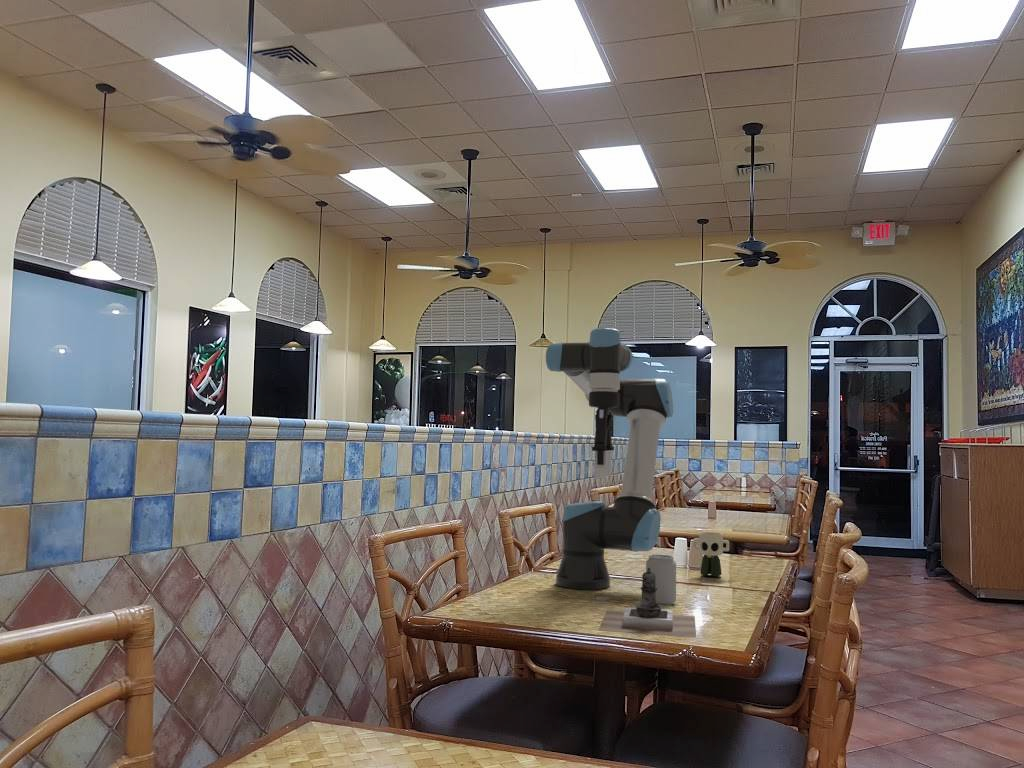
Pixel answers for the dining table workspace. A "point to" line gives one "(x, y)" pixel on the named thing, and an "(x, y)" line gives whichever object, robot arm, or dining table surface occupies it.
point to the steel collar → (648, 620)
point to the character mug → (711, 552)
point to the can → (663, 578)
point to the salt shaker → (648, 597)
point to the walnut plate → (680, 628)
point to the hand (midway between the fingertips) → (603, 477)
